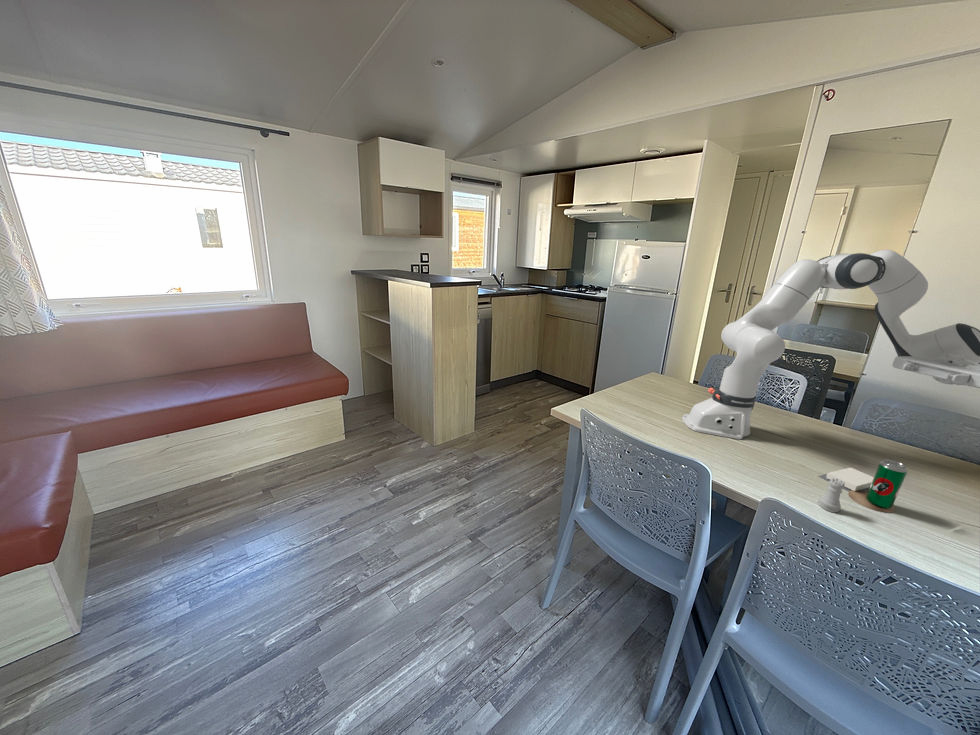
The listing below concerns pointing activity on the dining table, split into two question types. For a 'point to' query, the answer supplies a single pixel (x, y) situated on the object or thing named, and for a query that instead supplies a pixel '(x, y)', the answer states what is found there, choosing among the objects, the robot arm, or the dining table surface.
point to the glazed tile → (851, 478)
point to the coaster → (861, 499)
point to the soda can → (886, 483)
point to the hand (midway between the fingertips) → (927, 372)
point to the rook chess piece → (832, 496)
